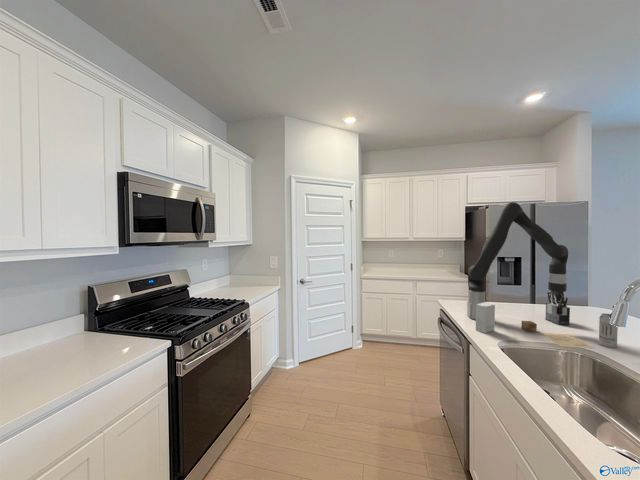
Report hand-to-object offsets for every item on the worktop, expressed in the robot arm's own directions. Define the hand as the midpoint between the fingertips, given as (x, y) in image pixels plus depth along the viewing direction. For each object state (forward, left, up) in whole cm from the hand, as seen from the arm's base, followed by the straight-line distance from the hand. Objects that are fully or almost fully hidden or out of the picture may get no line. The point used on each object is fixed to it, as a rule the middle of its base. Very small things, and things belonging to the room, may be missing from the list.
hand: (556, 313), depth 151 cm
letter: (-3, -13, -10) cm, 17 cm away
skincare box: (-37, -6, -10) cm, 39 cm away
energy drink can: (+12, -17, -10) cm, 23 cm away
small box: (+10, +18, -10) cm, 23 cm away
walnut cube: (-14, -2, -10) cm, 18 cm away
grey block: (0, 0, 0) cm, 0 cm away
